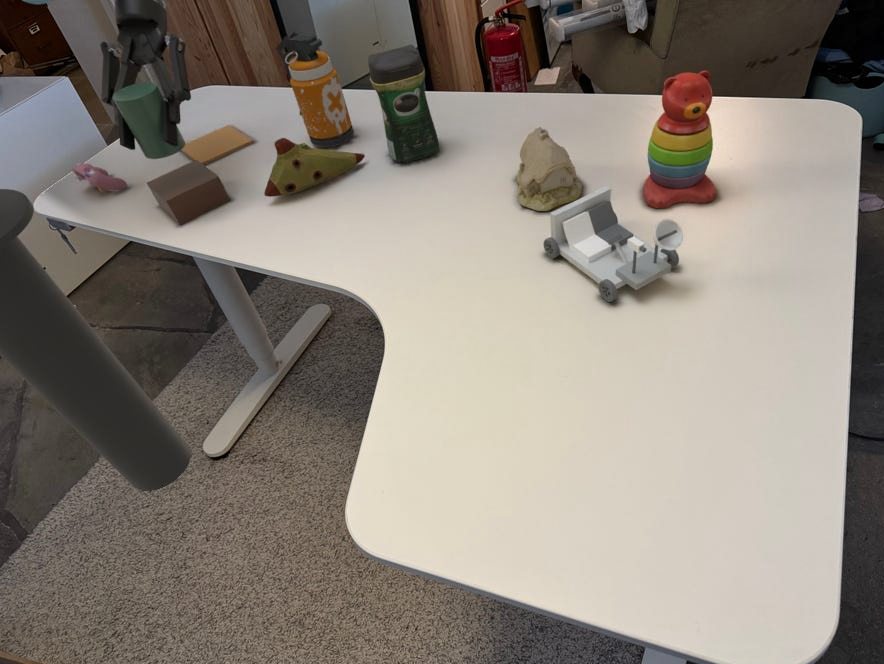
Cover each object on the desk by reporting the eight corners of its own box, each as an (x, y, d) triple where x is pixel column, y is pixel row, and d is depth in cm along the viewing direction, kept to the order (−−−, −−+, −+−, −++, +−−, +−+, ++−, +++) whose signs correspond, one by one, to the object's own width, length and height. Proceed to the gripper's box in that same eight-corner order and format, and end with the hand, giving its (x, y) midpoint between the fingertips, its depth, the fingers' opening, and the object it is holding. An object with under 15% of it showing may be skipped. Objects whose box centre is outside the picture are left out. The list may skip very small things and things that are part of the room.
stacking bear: (648, 210, 93) (658, 95, 80) (634, 176, 100) (642, 66, 87) (719, 202, 92) (741, 84, 80) (701, 168, 99) (718, 55, 87)
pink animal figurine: (95, 190, 124) (62, 170, 118) (108, 172, 125) (75, 151, 119) (117, 203, 119) (83, 182, 113) (130, 184, 120) (97, 162, 114)
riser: (159, 206, 113) (146, 182, 110) (208, 183, 117) (196, 159, 114) (180, 225, 108) (166, 200, 104) (230, 200, 111) (218, 176, 108)
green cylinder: (138, 151, 105) (106, 93, 98) (176, 135, 108) (147, 78, 101) (153, 163, 101) (120, 104, 94) (191, 146, 104) (163, 88, 97)
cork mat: (179, 149, 129) (177, 146, 129) (229, 127, 134) (228, 124, 134) (201, 166, 123) (200, 163, 122) (253, 142, 127) (252, 139, 127)
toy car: (702, 217, 74) (630, 255, 71) (692, 279, 81) (626, 316, 78) (606, 163, 85) (540, 194, 82) (604, 222, 93) (543, 252, 89)
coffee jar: (433, 137, 119) (414, 36, 105) (444, 154, 113) (425, 50, 100) (385, 150, 117) (360, 49, 104) (394, 168, 112) (369, 65, 99)
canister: (334, 153, 119) (300, 46, 105) (295, 144, 124) (257, 41, 110) (363, 132, 124) (334, 27, 110) (324, 124, 129) (291, 23, 114)
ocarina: (360, 157, 117) (345, 106, 109) (373, 167, 113) (359, 115, 106) (263, 199, 110) (241, 148, 103) (274, 210, 107) (252, 159, 100)
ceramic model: (593, 200, 97) (594, 142, 90) (526, 217, 96) (522, 159, 89) (563, 160, 107) (562, 104, 99) (502, 175, 106) (496, 120, 98)
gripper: (210, 10, 102) (217, 147, 103) (102, 23, 105) (110, 156, 105) (183, -15, 95) (191, 132, 95) (67, -1, 97) (76, 143, 98)
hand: (149, 145), depth 100 cm, fingers closed on green cylinder, 7 cm apart
